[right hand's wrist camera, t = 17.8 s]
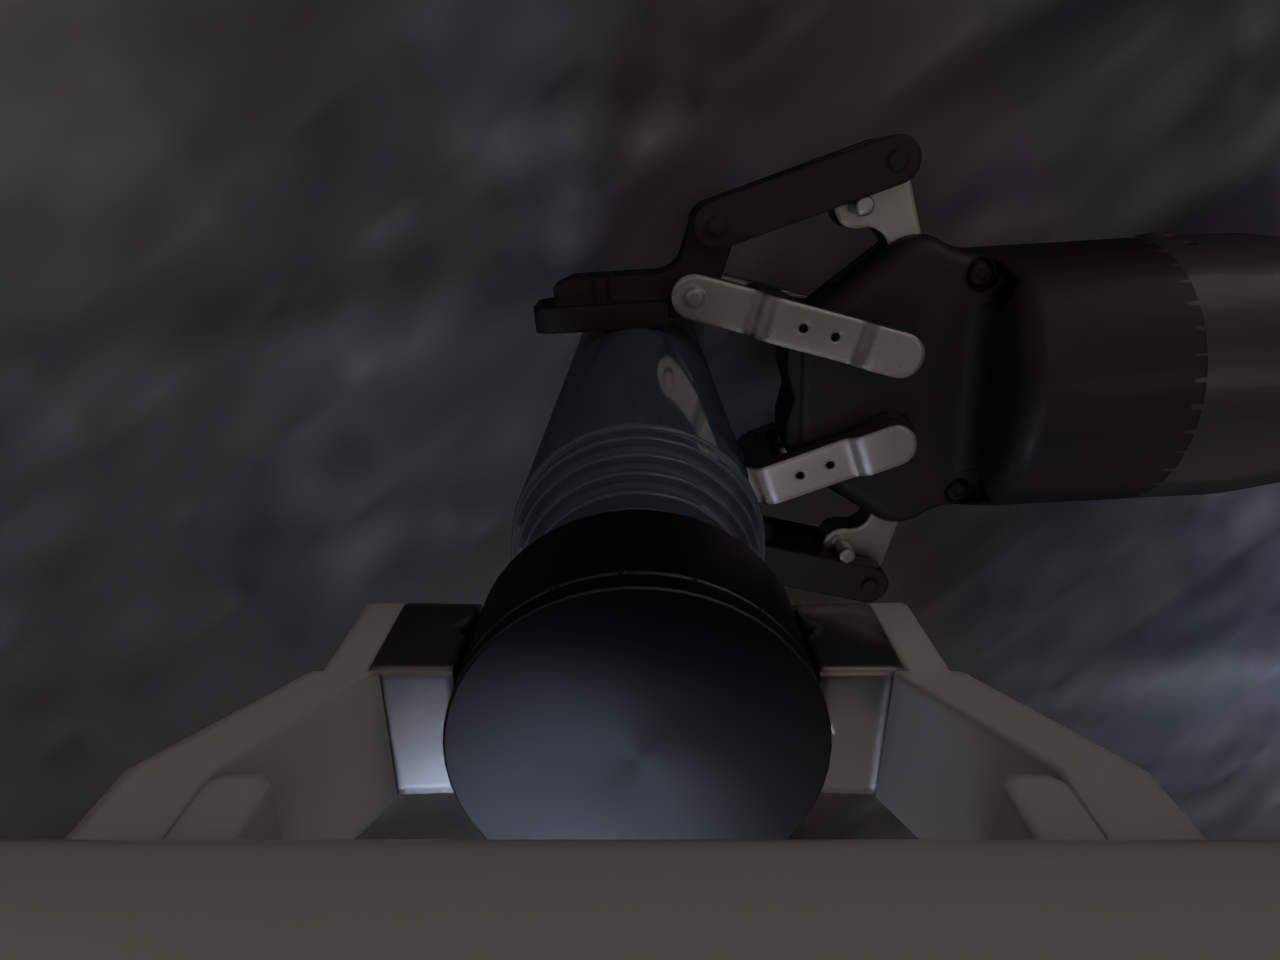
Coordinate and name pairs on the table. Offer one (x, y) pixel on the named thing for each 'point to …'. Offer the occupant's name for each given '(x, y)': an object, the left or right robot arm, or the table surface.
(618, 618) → the cap
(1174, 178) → the table surface
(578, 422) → the bottle
